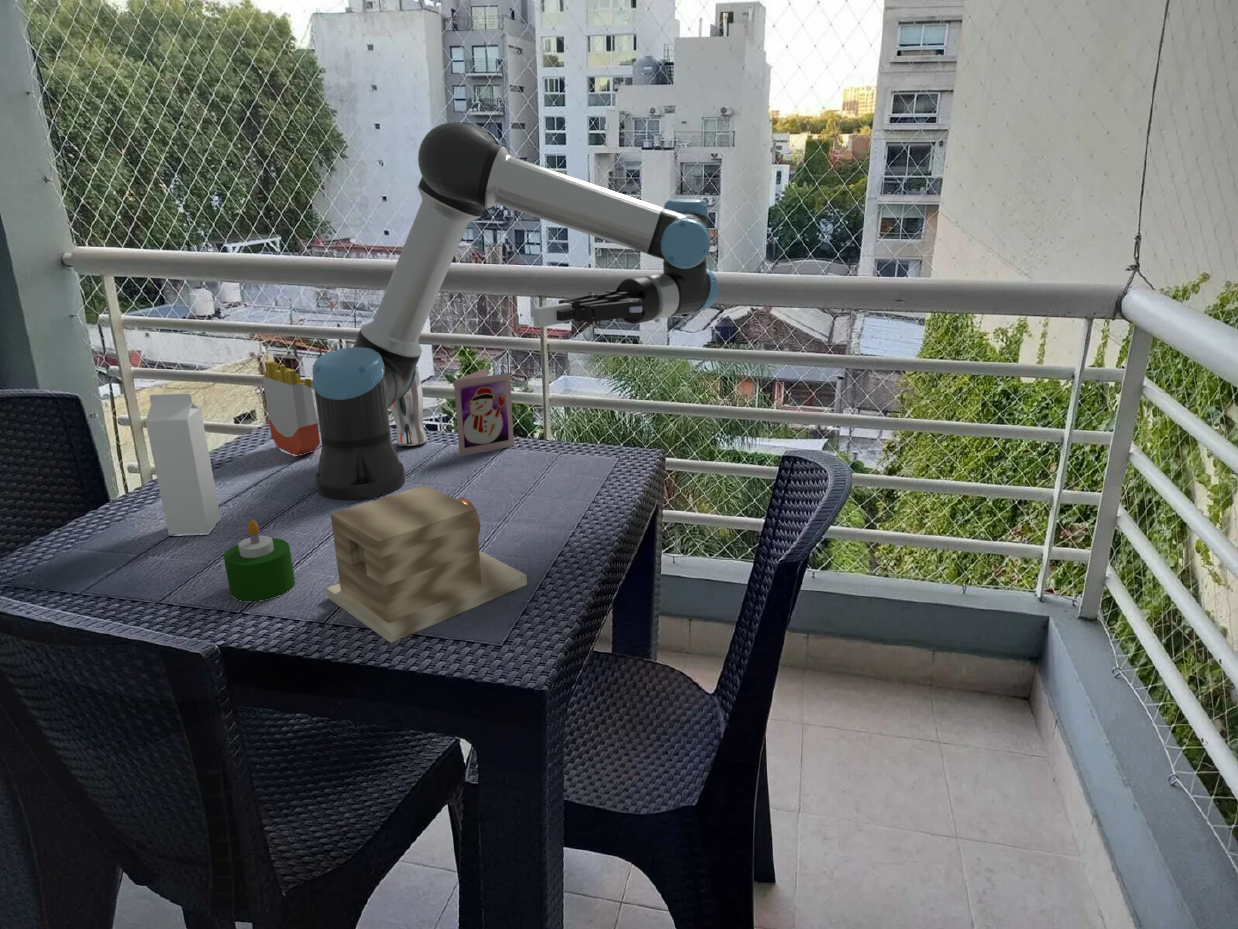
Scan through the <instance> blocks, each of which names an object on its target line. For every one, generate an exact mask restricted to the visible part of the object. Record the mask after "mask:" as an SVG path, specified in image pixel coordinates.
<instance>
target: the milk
mask: <svg viewBox="0 0 1238 929" xmlns="http://www.w3.org/2000/svg"><path fill="white" fill-rule="evenodd" d="M149 402H150V406H149V410H148V412H147V416H146V418H145V426H146V430H147V435H148V439H149V445H150V450H151V454H152V460H153V465H154V469H155V474H156V479H157V484H158V489H159V494H160V499H161V503H162V509H163V513H164V517H165V518H164V519H165V523H166V528H167V532H168V535H169V534H184V533H185V534H186V533H187V534H188V533H209V532H210V530H211V529H212V528H213V527H214V526H215V524H216V523H217V522H218V521H219V520H220V519H221V518H222V517H221V513H220V507H219V502H218V496H217V491H216V485H215V479H214V473H213V468H212V463H211V457H210V451H209V447H208V441H207V435H206V430H205V423H204V417H203V412H202V409H201V407H199V406H198V405H196V404H194V403H193V400H192V395H191V393H167V394H164V393H163V394H150V396H149ZM221 520H222V519H221Z"/></svg>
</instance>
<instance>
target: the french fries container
mask: <svg viewBox="0 0 1238 929" xmlns="http://www.w3.org/2000/svg"><path fill="white" fill-rule="evenodd" d="M264 367H265V371H264V372H263V376H262V377H261V378H262V383H263V392H264V396H265V403H266V409H267V416H268V421H269V422H268V423H269V429H270V436H271V438H272V440H273V442H274V443H275V445H276V447H277V448H278V449H279V448H281V449H283V450H285V451H287V452H289V453H291V454H295V455H299V454H304V453H307V452H310V451H314V450H315V451H316V449H318V447H319V445H320V444H321V440H320V439H321V437H320V432H319V431H320V430H319V422H318V417H317V414H316V413H317V412H316V407H315V401H314V396H313V391H312V379H311V378H304V379H303V378H301V374H299V373H297V372H296V369H294V368H293V369H291V368H290V367H288V368H286V364H279V363H277V362H275V361H273V360H268V361H264ZM315 451H314V452H315ZM304 455H305V454H304Z"/></svg>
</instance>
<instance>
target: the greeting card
mask: <svg viewBox="0 0 1238 929" xmlns="http://www.w3.org/2000/svg"><path fill="white" fill-rule="evenodd" d="M488 374H489V372H488V367H485V368H482V369H480V370H478V371H475V372H473V373H470V374H468V375H464V376H462V377H460V378H457V379H455V380H453V386H454V387H453V388H454V389H453V390H454V399H455V400H454V401H455V403H454V404H455V413H456V414H455V415H456V416H455V417H456V425H457V426H456V428H457V440H458V442H457V443H458V452H459V454H458V455H459V457H462V456H467V455H474V454H479V453H484V452H490V451H495V450H502V449H505V448H510V447H511V448H512V447H514V446H515V442H514V440H515V439H514V438H515V437H514V424H513V423H514V422H513V421H514V420H513V407H512V406H513V403H512V384H511V383H512V382H511V373H510V372H507V373H501V374H500V373H499V374H493V375H488Z"/></svg>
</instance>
